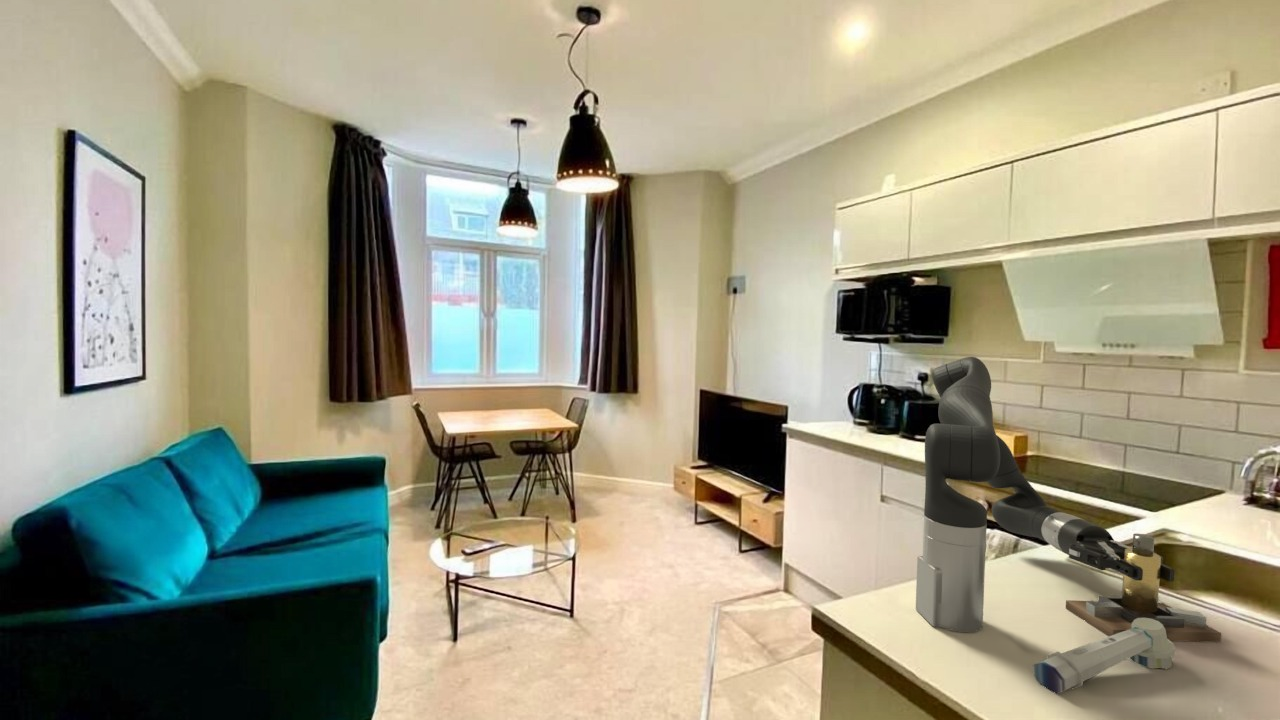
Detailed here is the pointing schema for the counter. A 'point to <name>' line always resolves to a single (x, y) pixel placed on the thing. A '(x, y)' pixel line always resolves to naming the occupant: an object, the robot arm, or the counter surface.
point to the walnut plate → (1119, 625)
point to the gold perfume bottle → (1147, 589)
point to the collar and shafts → (1166, 617)
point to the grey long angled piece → (1107, 656)
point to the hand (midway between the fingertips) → (1155, 575)
